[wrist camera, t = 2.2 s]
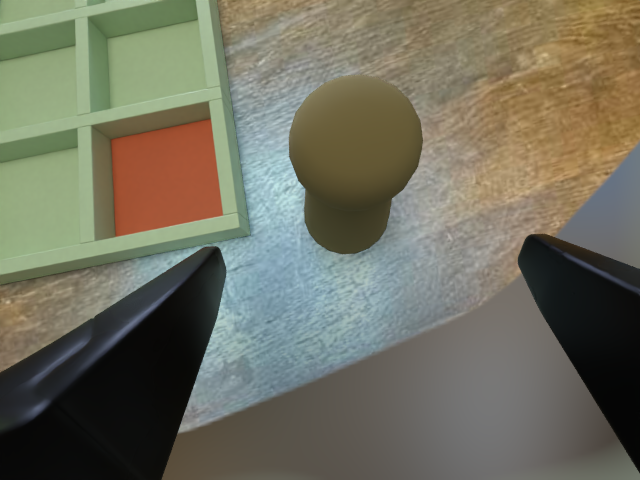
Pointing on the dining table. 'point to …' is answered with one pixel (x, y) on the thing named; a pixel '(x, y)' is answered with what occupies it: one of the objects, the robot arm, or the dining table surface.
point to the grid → (113, 133)
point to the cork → (353, 158)
